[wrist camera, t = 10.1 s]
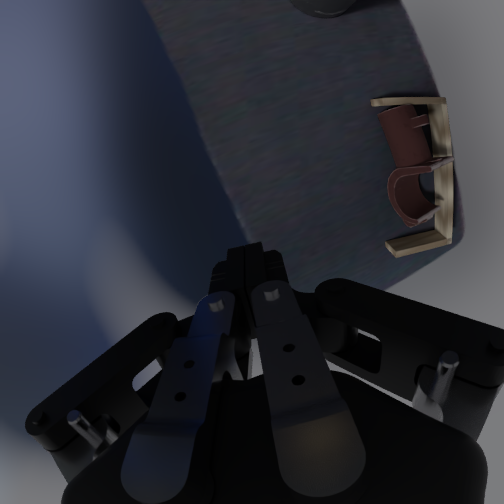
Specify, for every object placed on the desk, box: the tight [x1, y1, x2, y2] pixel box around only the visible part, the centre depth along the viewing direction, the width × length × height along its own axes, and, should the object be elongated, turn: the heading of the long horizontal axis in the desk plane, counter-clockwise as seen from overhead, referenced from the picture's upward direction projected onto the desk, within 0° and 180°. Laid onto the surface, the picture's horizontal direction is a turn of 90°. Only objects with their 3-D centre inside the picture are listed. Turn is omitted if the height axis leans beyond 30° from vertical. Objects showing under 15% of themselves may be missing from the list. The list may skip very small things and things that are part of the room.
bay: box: [371, 97, 453, 258], centre depth 37 cm, size 23×11×4 cm, turn 12°
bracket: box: [377, 104, 454, 227], centre depth 35 cm, size 6×17×10 cm, turn 22°
